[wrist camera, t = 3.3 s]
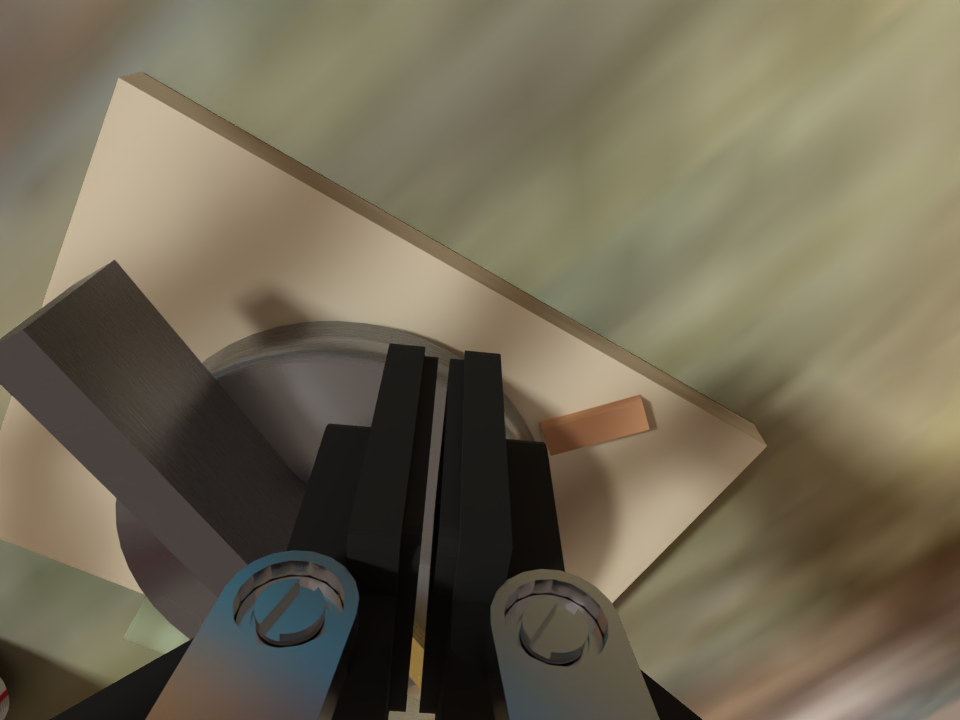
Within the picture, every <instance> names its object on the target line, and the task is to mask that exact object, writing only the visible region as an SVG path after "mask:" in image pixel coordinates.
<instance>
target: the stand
mask: <svg viewBox="0 0 960 720" xmlns="http://www.w3.org/2000/svg"><path fill="white" fill-rule="evenodd" d="M113 260H116V261H117V263H118V264H119V265H120V266H121V267H122V269H123V270H124V271H125V272H126V273H127V275H128V276H129V277H130V278H131V279H132V281H133V282H134V283H135V284H136V285H137V286H138V288H139V289H140V290H141V291H142V292H143V294H144V295H145V296H146V297H147V298H148V300H149V301H150V302H151V303H152V304H153V305H154V307H155V308H156V309H157V310H158V311H159V313H160V314H161V315H162V316H163V317H164V319H165V320H166V321H167V322H168V323H169V325H170V326H171V327H172V328H173V329H174V330H175V332H176V333H177V334H178V335H179V336H180V338H181V339H182V340H183V341H184V342H185V344H186V345H187V346H188V347H189V348H190V349H191V351H192V352H193V353H194V354H195V355H196V357H197V358H198V359H199V360H200V361H201V363H202V362H204V361H205V360H206V359H207V358H209V357H210V356H212V355H213V354H215V353H217V352H218V351H220V350H221V349H223V348H224V347H226V346H228V345H229V344H232V343H234V342H236V341H238V340H241V339H243V338H245V337H247V336H250V335H252V334H255V333H258V332H262V331H265V330H268V329H272V328H275V327H279V326H285V325H291V324H297V323H303V322H318V321H344V322H356V323H367V324H372V325H377V326H382V327H387V328H392V329H396V330H399V331H402V332H405V333H408V334H411V335H414V336H417V337H421V338H423V339H425V340H428V341H430V342H432V343H434V344H436V345H438V346H441V347H443V348H445V349H447V350H449V351H451V352H452V353H454V354H455V355H457V356H459V357H460V358H462V359H464V352H465V350H466V351H477V352H487V353H498V354H501V367H502V383H503V393H504V394H505V395H506V396H507V397H508V398H509V399H510V400H511V402H512V403H513V405H514V406H515V407H516V409H517V410H518V411H519V413H520V414H521V416H522V417H523V418H524V420H525V422H526V424H527V426H528V428H529V430H530V432H531V434H532V436H533V438H534V440H535V441H537V442H544V443H545V444H546V446H547V450H548V457H549V464H550V471H551V478H552V484H553V491H554V498H555V505H556V512H557V519H558V526H559V533H560V540H561V547H562V554H563V561H564V568H565V572H567V573H570V574H573V575H576V576H579V577H581V578H582V579H584V580H586V581H587V582H589V583H591V584H592V585H594V586H596V587H597V588H598V589H599V590H600V591H601V592H602V593H603V594H604V595H605V596H606V597H607V598H608V599H609V600H610V601H611V603H613V602H614V601H615V600H616V599H617V598H618V597H619V596H620V595H621V594H622V593H623V592H624V591H625V590H626V589H627V588H628V587H629V586H630V584H631V583H632V582H633V581H634V580H635V579H636V578H637V577H638V576H639V575H640V574H641V573H642V572H643V571H644V570H645V569H646V568H647V567H648V566H649V565H650V564H651V563H652V562H653V561H654V560H655V559H656V558H657V557H658V556H659V555H660V554H661V553H662V552H663V551H664V550H665V549H666V548H667V547H668V546H669V545H670V544H671V543H672V542H673V541H674V540H675V539H676V538H677V537H678V536H679V535H680V534H681V533H682V532H683V531H684V530H685V529H686V528H687V527H688V526H689V525H690V524H691V523H692V522H693V521H694V520H695V519H696V518H697V517H698V516H699V515H700V514H701V513H702V512H703V511H704V510H705V509H706V508H707V507H708V506H709V505H710V504H711V503H712V502H713V501H714V500H715V499H716V498H717V496H718V495H719V494H720V493H721V492H722V491H723V490H724V489H725V488H726V487H727V486H728V485H729V484H730V483H731V482H732V481H733V480H734V479H735V478H736V477H737V476H738V475H739V474H740V473H741V472H742V471H743V470H744V469H745V468H746V467H747V466H748V465H749V464H750V463H751V462H752V461H753V460H754V459H755V458H756V457H757V456H758V455H759V454H760V453H761V452H762V451H763V450H764V449H765V448H766V447H767V445H766V443H765V442H764V440H763V438H762V437H761V435H760V434H759V432H758V430H757V429H756V427H755V425H754V424H753V423H751V422H749V421H748V420H746V419H744V418H742V417H741V416H739V415H737V414H735V413H734V412H732V411H730V410H728V409H727V408H725V407H723V406H721V405H720V404H718V403H716V402H714V401H713V400H711V399H709V398H708V397H706V396H704V395H702V394H701V393H699V392H697V391H695V390H694V389H692V388H690V387H688V386H687V385H685V384H683V383H681V382H680V381H678V380H676V379H675V378H673V377H671V376H669V375H668V374H666V373H664V372H662V371H661V370H659V369H657V368H655V367H654V366H652V365H650V364H648V363H647V362H645V361H643V360H641V359H640V358H638V357H636V356H635V355H633V354H631V353H629V352H628V351H626V350H624V349H622V348H621V347H619V346H617V345H615V344H614V343H612V342H610V341H608V340H607V339H605V338H603V337H601V336H600V335H598V334H596V333H595V332H593V331H591V330H589V329H588V328H586V327H584V326H582V325H581V324H579V323H577V322H575V321H574V320H572V319H570V318H568V317H567V316H565V315H563V314H561V313H560V312H558V311H556V310H555V309H553V308H551V307H549V306H548V305H546V304H544V303H542V302H541V301H539V300H537V299H535V298H534V297H532V296H530V295H528V294H527V293H525V292H523V291H521V290H520V289H518V288H516V287H515V286H513V285H511V284H509V283H508V282H506V281H504V280H502V279H501V278H499V277H497V276H495V275H494V274H492V273H490V272H488V271H487V270H485V269H483V268H481V267H480V266H478V265H476V264H475V263H473V262H471V261H469V260H468V259H466V258H464V257H462V256H461V255H459V254H457V253H455V252H454V251H452V250H450V249H448V248H447V247H445V246H443V245H441V244H440V243H438V242H436V241H435V240H433V239H431V238H429V237H428V236H426V235H424V234H422V233H421V232H419V231H417V230H415V229H414V228H412V227H410V226H408V225H407V224H405V223H403V222H401V221H400V220H398V219H396V218H395V217H393V216H391V215H389V214H388V213H386V212H384V211H382V210H381V209H379V208H377V207H375V206H374V205H372V204H370V203H368V202H367V201H365V200H363V199H361V198H360V197H358V196H356V195H355V194H353V193H351V192H349V191H348V190H346V189H344V188H342V187H341V186H339V185H337V184H335V183H334V182H332V181H330V180H328V179H327V178H325V177H323V176H321V175H320V174H318V173H316V172H315V171H313V170H311V169H309V168H308V167H306V166H304V165H302V164H301V163H299V162H297V161H295V160H294V159H292V158H290V157H288V156H287V155H285V154H283V153H281V152H280V151H278V150H276V149H275V148H273V147H271V146H269V145H268V144H266V143H264V142H262V141H261V140H259V139H257V138H255V137H254V136H252V135H250V134H248V133H247V132H245V131H243V130H242V129H240V128H238V127H236V126H235V125H233V124H231V123H229V122H228V121H226V120H224V119H222V118H221V117H219V116H217V115H215V114H214V113H212V112H210V111H208V110H207V109H205V108H203V107H202V106H200V105H198V104H196V103H195V102H193V101H191V100H189V99H188V98H186V97H184V96H182V95H181V94H179V93H177V92H175V91H174V90H172V89H170V88H168V87H167V86H165V85H163V84H162V83H160V82H158V81H156V80H155V79H153V78H151V77H149V76H148V75H146V74H144V73H142V72H138V73H135V74H131V75H127V76H123V77H120V78H119V79H118V82H117V85H116V88H115V91H114V94H113V96H112V99H111V102H110V105H109V108H108V111H107V114H106V117H105V120H104V123H103V126H102V129H101V132H100V135H99V138H98V141H97V144H96V147H95V150H94V153H93V156H92V159H91V162H90V165H89V168H88V171H87V174H86V177H85V180H84V183H83V186H82V189H81V192H80V195H79V198H78V201H77V204H76V207H75V210H74V213H73V216H72V219H71V222H70V225H69V228H68V231H67V234H66V236H65V239H64V242H63V245H62V248H61V251H60V254H59V257H58V260H57V263H56V266H55V269H54V272H53V275H52V278H51V281H50V284H49V287H48V290H47V293H46V296H45V299H44V302H43V305H42V308H43V307H44V306H45V305H47V304H48V303H49V302H51V301H52V300H53V299H55V298H56V297H57V296H59V295H60V294H61V293H63V292H64V291H65V290H67V289H68V288H69V287H71V286H72V285H73V284H75V283H77V282H78V281H80V280H82V279H83V278H85V277H87V276H88V275H90V274H92V273H93V272H95V271H97V270H98V269H100V268H102V267H103V266H105V265H107V264H108V263H110V262H112V261H113ZM115 504H116V497H115V496H114V495H113V494H112V493H111V492H110V491H109V490H108V489H107V488H106V487H105V486H104V485H102V484H101V483H100V482H99V481H98V480H97V479H96V478H95V477H94V476H93V475H92V474H91V473H90V472H89V471H88V470H87V469H86V468H85V467H84V466H83V465H82V464H81V463H80V462H79V461H78V460H77V459H76V458H75V457H74V456H73V455H72V454H71V453H70V452H69V451H68V450H67V449H66V448H65V447H64V446H63V445H62V444H61V443H60V442H59V441H58V440H57V439H56V438H55V437H54V436H53V435H52V434H51V433H50V432H49V431H48V430H47V429H46V428H45V427H44V426H43V425H42V424H41V423H40V422H38V421H37V420H36V419H35V418H34V417H33V416H32V415H31V414H30V413H29V412H28V411H27V410H26V409H25V408H24V407H23V406H22V405H21V404H20V403H19V402H18V401H17V400H16V399H15V398H14V397H13V396H12V397H11V400H10V403H9V406H8V409H7V412H6V415H5V418H4V421H3V424H2V427H1V430H0V539H2V540H5V541H7V542H10V543H12V544H15V545H18V546H20V547H23V548H25V549H28V550H31V551H33V552H36V553H38V554H41V555H44V556H46V557H49V558H51V559H54V560H57V561H59V562H62V563H64V564H67V565H70V566H72V567H75V568H77V569H80V570H83V571H85V572H88V573H90V574H93V575H96V576H98V577H101V578H103V579H106V580H108V581H111V582H114V583H116V584H119V585H121V586H124V587H127V588H129V589H132V590H134V591H137V592H140V593H142V594H144V593H143V592H142V590H141V589H140V587H139V586H138V584H137V582H136V580H135V579H134V577H133V575H132V573H131V571H130V570H129V568H128V565H127V563H126V560H125V557H124V555H123V552H122V550H121V546H120V542H119V537H118V532H117V528H116V505H115ZM123 639H124V640H127V641H130V642H133V643H135V644H138V645H141V646H143V647H146V648H149V649H152V650H154V651H157V652H160V653H163V654H166V653H168V652H169V651H171V650H173V649H175V648H177V647H178V646H180V645H182V644H184V643H185V642H187V641H189V640H190V639H189V638H187V637H186V636H185V635H184V634H183V633H181V632H180V631H179V630H178V629H177V628H175V627H174V626H173V625H172V624H170V623H169V622H168V621H167V619H166V618H165V617H164V616H163V615H162V614H161V613H160V612H159V611H158V610H157V609H156V608H155V607H154V606H153V605H152V603H151V602H150V601H149V599H148V598H147V597H145V599H144V601H143V603H142V604H141V606H140V608H139V610H138V612H137V614H136V616H135V617H134V619H133V621H132V623H131V625H130V627H129V629H128V630H127V632H126V634H125V636H124V638H123ZM407 696H410V697H412V698H415V699H418V700H420V696H421V689H420V688H419V687H418V686H417V685H412V686H408V691H407Z"/></svg>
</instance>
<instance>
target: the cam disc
mask: <svg viewBox="0 0 960 720" xmlns="http://www.w3.org/2000/svg"><path fill="white" fill-rule="evenodd" d="M390 343H392V344H403V345H413V346H424V347H425V356H430V357H439V359H438V370H437V381H436V391H435V402H434V413H433V424H432V435H431V446H430V456H429V467H428V478H427V489H426V500H425V511H424V521H423V532H422V543H421V554H420V564H419V575H418V585H417V596H416V607H415V617H414V628H413V638H412V649H411V659H410V670H409V681H408V686H412V685H417V686H418V687H419V688H420V689H421V682H422V669H423V656H424V642H425V629H426V615H427V602H428V589H429V575H430V562H431V548H432V535H433V522H434V509H435V498H436V488H437V479H438V469H439V459H440V450H441V440H442V430H443V421H444V411H445V401H446V392H447V382H448V373H449V363H450V358H451V359H462V358H460V357H459V356H457V355H455V354H454V353H452V352H451V351H449V350H447V349H445V348H443V347H441V346H438V345H436V344H434V343H432V342H430V341H428V340H425V339H423V338H421V337H417V336H414V335H411V334H408V333H405V332H402V331H399V330H396V329H392V328H387V327H382V326H377V325H372V324H367V323H356V322H344V321H318V322H303V323H297V324H291V325H285V326H279V327H275V328H272V329H268V330H265V331H262V332H258V333H255V334H252V335H250V336H247V337H245V338H243V339H241V340H238V341H236V342H234V343H232V344H229V345H228V346H226V347H224V348H223V349H221V350H220V351H218V352H217V353H215V354H213V355H212V356H210V357H209V358H207V359H206V360H205V361H204V362H202V363H201V361H200V360H199V359H198V358H197V357H196V355H195V354H194V353H193V352H192V351H191V349H190V348H189V347H188V346H187V345H186V344H185V342H184V341H183V340H182V339H181V338H180V336H179V335H178V334H177V333H176V332H175V330H174V329H173V328H172V327H171V326H170V325H169V323H168V322H167V321H166V320H165V319H164V317H163V316H162V315H161V314H160V313H159V311H158V310H157V309H156V308H155V307H154V305H153V304H152V303H151V302H150V301H149V300H148V298H147V297H146V296H145V295H144V294H143V292H142V291H141V290H140V289H139V288H138V286H137V285H136V284H135V283H134V282H133V281H132V279H131V278H130V277H129V276H128V275H127V273H126V272H125V271H124V270H123V269H122V267H121V266H120V265H119V264H118V263H117V261H116V260H113V261H112V262H110V263H108V264H107V265H105V266H103V267H102V268H100V269H98V270H97V271H95V272H93V273H92V274H90V275H88V276H87V277H85V278H83V279H82V280H80V281H78V282H77V283H75V284H73V285H72V286H71V287H69V288H68V289H67V290H65V291H64V292H63V293H61V294H60V295H59V296H57V297H56V298H55V299H53V300H52V301H51V302H49V303H48V304H47V305H45V306H44V307H43V308H41V309H40V310H39V311H37V312H36V313H34V314H33V315H32V316H30V317H29V318H28V319H26V320H25V321H24V322H22V323H21V324H20V325H18V326H17V327H16V328H14V329H13V330H12V331H10V332H9V333H8V334H6V335H5V336H4V337H2V338H1V339H0V384H1V385H2V386H3V387H4V388H5V389H6V390H7V391H8V392H9V393H10V394H11V395H12V396H13V397H14V398H15V399H16V400H17V401H18V402H19V403H20V404H21V405H22V406H23V407H24V408H25V409H26V410H27V411H28V412H29V413H30V414H31V415H32V416H33V417H34V418H35V419H36V420H37V421H38V422H40V423H41V424H42V425H43V426H44V427H45V428H46V429H47V430H48V431H49V432H50V433H51V434H52V435H53V436H54V437H55V438H56V439H57V440H58V441H59V442H60V443H61V444H62V445H63V446H64V447H65V448H66V449H67V450H68V451H69V452H70V453H71V454H72V455H73V456H74V457H75V458H76V459H77V460H78V461H79V462H80V463H81V464H82V465H83V466H84V467H85V468H86V469H87V470H88V471H89V472H90V473H91V474H92V475H93V476H94V477H95V478H96V479H97V480H98V481H99V482H100V483H101V484H102V485H104V486H105V487H106V488H107V489H108V490H109V491H110V492H111V493H112V494H113V495H114V496H115V497H116V504H115V505H116V528H117V532H118V537H119V542H120V546H121V550H122V552H123V555H124V557H125V560H126V563H127V565H128V568H129V570H130V571H131V573H132V575H133V577H134V579H135V580H136V582H137V584H138V586H139V587H140V589H141V590H142V592H143V593H144V594H145V595H146V597H147V598H148V599H149V601H150V602H151V603H152V605H153V606H154V607H155V608H156V609H157V610H158V611H159V612H160V613H161V614H162V615H163V616H164V617H165V618H166V619H167V621H168V622H169V623H170V624H172V625H173V626H174V627H175V628H177V629H178V630H179V631H180V632H181V633H183V634H184V635H185V636H186V637H187V638H189V639H190V640H191V639H192V638H194V637H195V636H196V634H197V633H198V631H199V629H200V628H201V626H202V624H203V623H204V621H205V619H206V618H207V616H208V614H209V613H210V611H211V609H212V608H213V606H214V604H215V603H216V601H217V599H218V598H219V596H220V594H221V592H222V591H223V589H224V588H225V586H226V585H227V584H228V583H229V582H230V580H231V579H232V578H233V577H234V576H235V574H236V573H237V572H239V571H240V570H242V569H243V568H245V567H246V566H247V565H249V564H250V563H252V562H253V561H255V560H258V559H260V558H263V557H265V556H268V555H270V554H273V553H279V552H286V551H287V548H288V544H289V541H290V538H291V535H292V532H293V529H294V525H295V522H296V519H297V516H298V513H299V510H300V507H301V503H302V500H303V497H304V494H305V491H306V488H307V484H308V481H309V478H310V475H311V472H312V469H313V466H314V462H315V459H316V456H317V453H318V450H319V447H320V443H321V440H322V437H323V434H324V431H325V429H326V426H327V425H328V424H329V423H330V424H342V425H353V426H365V427H371V424H372V420H373V415H374V411H375V406H376V402H377V397H378V393H379V388H380V384H381V379H382V375H383V370H384V366H385V361H386V357H387V352H388V348H389V344H390ZM462 360H463V359H462ZM503 399H504V415H505V431H506V439H514V440H526V441H535V440H534V438H533V436H532V434H531V432H530V430H529V428H528V426H527V424H526V422H525V420H524V418H523V417H522V416H521V414H520V413H519V411H518V410H517V409H516V407H515V406H514V405H513V403H512V402H511V400H510V399H509V398H508V397H507V396H506V395H505V394H504V393H503Z"/></svg>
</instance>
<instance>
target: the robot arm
mask: <svg viewBox="0 0 960 720" xmlns="http://www.w3.org/2000/svg"><path fill="white" fill-rule="evenodd" d="M438 359H439V357H430V356H425V347H424V346H413V345H403V344H392V343H390V344H389V348H388V352H387V357H386V361H385V366H384V370H383V375H382V379H381V384H380V388H379V393H378V397H377V402H376V406H375V411H374V415H373V420H372V424H371V427H365V426H353V425H342V424H330V423H329V424H328V425H327V426H326V429H325V431H324V434H323V437H322V440H321V443H320V447H319V450H318V453H317V456H316V459H315V462H314V466H313V469H312V472H311V475H310V478H309V481H308V484H307V488H306V491H305V494H304V497H303V500H302V503H301V507H300V510H299V513H298V516H297V519H296V522H295V525H294V529H293V532H292V535H291V538H290V541H289V544H288V548H287V551H286V552H279V553H273V554H270V555H268V556H265V557H263V558H260V559H258V560H255V561H253V562H252V563H250V564H249V565H247V566H246V567H245V568H243V569H242V570H240V571H239V572H237V573H236V574H235V576H234V577H233V578H232V579H231V580H230V582H229V583H228V584H227V585H226V586H225V588H224V589H223V591H222V592H221V594H220V596H219V598H218V599H217V601H216V603H215V604H214V606H213V608H212V609H211V611H210V613H209V614H208V616H207V618H206V619H205V621H204V623H203V624H202V626H201V628H200V629H199V631H198V633H197V634H196V636H195V637H194V638H192V639H191V640H189V641H187V642H185V643H184V644H182V645H180V646H178V647H177V648H175V649H173V650H171V651H169V652H168V653H166V654H164V655H162V656H161V657H159V658H157V659H155V660H154V661H152V662H150V663H148V664H147V665H145V666H143V667H141V668H140V669H138V670H136V671H134V672H133V673H131V674H129V675H127V676H126V677H124V678H122V679H120V680H119V681H117V682H115V683H113V684H112V685H110V686H108V687H106V688H105V689H103V690H101V691H99V692H98V693H96V694H94V695H92V696H90V697H89V698H87V699H85V700H83V701H82V702H80V703H78V704H76V705H75V706H73V707H71V708H69V709H68V710H66V711H64V712H62V713H61V714H59V715H57V716H55V717H54V718H52V719H50V720H388V715H389V711H402V712H406V702H407V691H408V681H409V670H410V659H411V649H412V638H413V628H414V617H415V607H416V596H417V585H418V575H419V564H420V554H421V543H422V532H423V521H424V511H425V500H426V489H427V478H428V467H429V456H430V446H431V435H432V424H433V413H434V402H435V391H436V381H437V370H438ZM419 713H434V714H435V720H702V719H701V718H700V717H698V716H697V715H696V714H695V713H694V712H692V711H691V710H690V709H689V708H687V707H686V706H685V705H684V704H682V703H681V702H680V701H679V700H677V699H676V698H675V697H674V696H672V695H671V694H670V693H669V692H667V691H666V690H665V689H664V688H663V687H661V686H660V685H659V684H658V683H656V682H655V681H654V680H653V679H651V678H650V677H649V676H648V675H646V674H645V673H644V672H643V671H641V670H640V668H639V665H638V663H637V660H636V658H635V655H634V653H633V650H632V647H631V645H630V642H629V640H628V637H627V635H626V632H625V629H624V627H623V624H622V622H621V619H620V617H619V615H618V613H617V612H616V610H615V608H614V606H613V605H612V603H611V601H610V600H609V599H608V598H607V597H606V596H605V595H604V594H603V593H602V592H601V591H600V590H599V589H598V588H597V587H596V586H594V585H592V584H591V583H589V582H587V581H586V580H584V579H582V578H581V577H579V576H576V575H573V574H570V573H567V572H565V568H564V561H563V554H562V547H561V540H560V533H559V526H558V519H557V512H556V505H555V498H554V491H553V484H552V478H551V471H550V464H549V457H548V450H547V446H546V444H545V443H544V442H537V441H526V440H514V439H506V431H505V415H504V399H503V383H502V367H501V354H498V353H487V352H477V351H466V350H465V352H464V359H463V360H462V359H451V358H450V363H449V373H448V382H447V392H446V401H445V411H444V421H443V430H442V440H441V450H440V459H439V469H438V479H437V488H436V498H435V509H434V522H433V535H432V548H431V562H430V575H429V589H428V602H427V615H426V629H425V642H424V656H423V669H422V682H421V696H420V711H419Z"/></svg>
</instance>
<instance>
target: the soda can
mask: <svg viewBox="0 0 960 720" xmlns="http://www.w3.org/2000/svg"><path fill="white" fill-rule="evenodd" d="M9 703H10V701H9V694H8V691H7V689H6V686H5V684H4V682H3V680H2V679H1V677H0V720H4V719H5V717H6V714H7V712H8V710H9Z"/></svg>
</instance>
